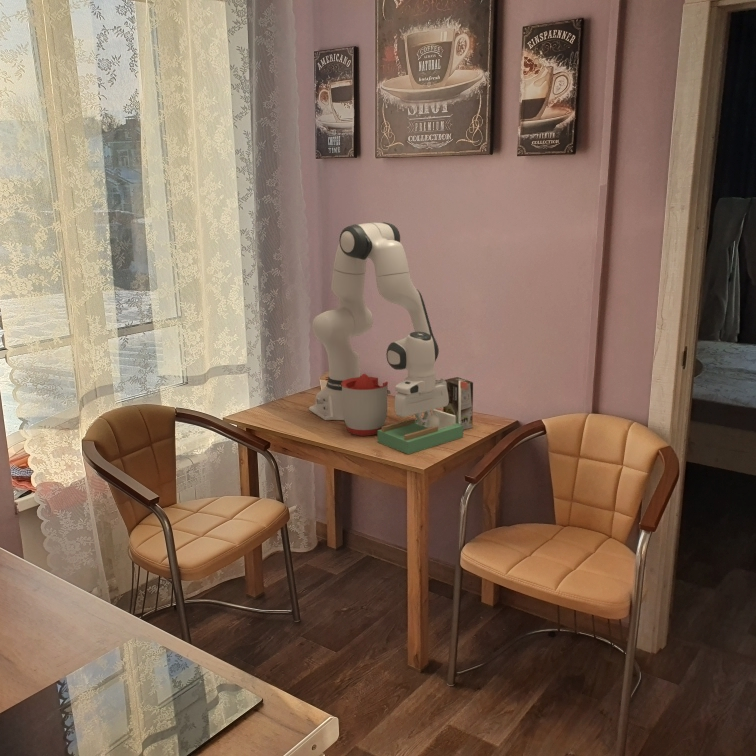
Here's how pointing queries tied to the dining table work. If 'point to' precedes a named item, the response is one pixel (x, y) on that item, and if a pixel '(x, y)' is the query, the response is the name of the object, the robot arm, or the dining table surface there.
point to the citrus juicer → (364, 405)
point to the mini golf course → (423, 431)
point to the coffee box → (465, 401)
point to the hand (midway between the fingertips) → (423, 424)
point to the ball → (432, 421)
